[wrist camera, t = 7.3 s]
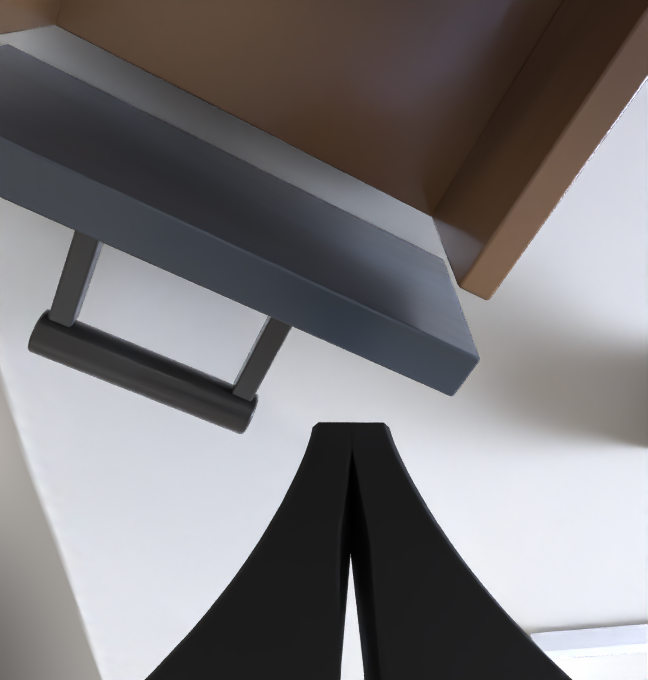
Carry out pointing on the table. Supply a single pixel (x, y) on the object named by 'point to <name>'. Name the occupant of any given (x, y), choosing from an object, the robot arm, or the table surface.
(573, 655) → the photo frame
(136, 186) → the drawer
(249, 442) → the table surface
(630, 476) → the table surface
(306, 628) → the robot arm
